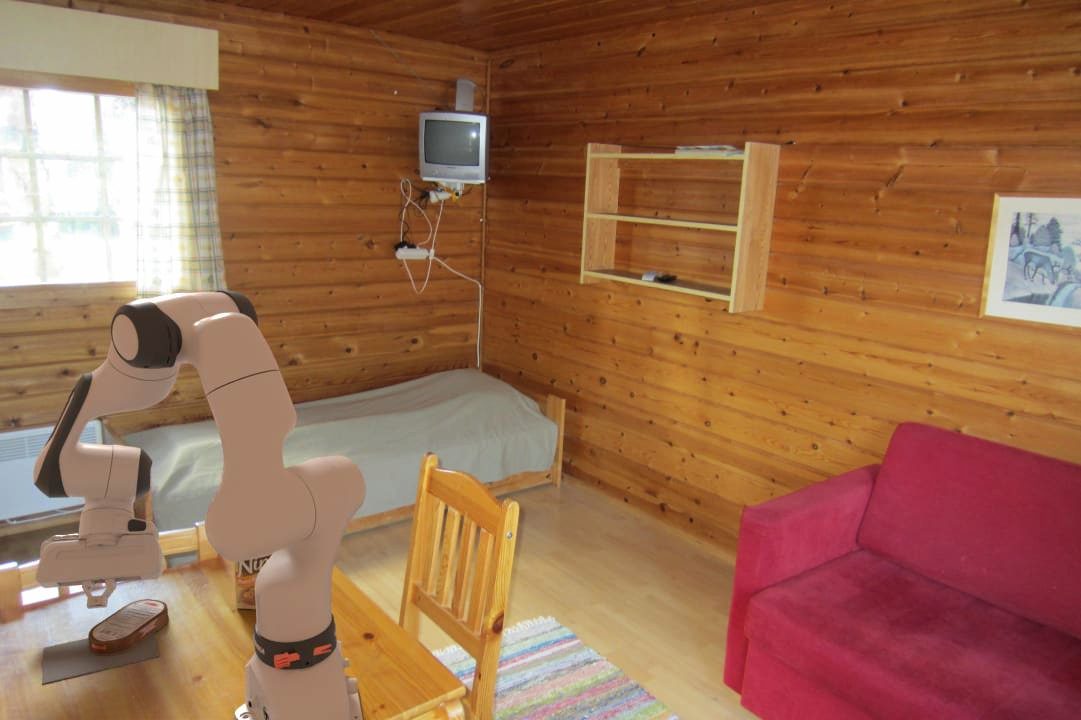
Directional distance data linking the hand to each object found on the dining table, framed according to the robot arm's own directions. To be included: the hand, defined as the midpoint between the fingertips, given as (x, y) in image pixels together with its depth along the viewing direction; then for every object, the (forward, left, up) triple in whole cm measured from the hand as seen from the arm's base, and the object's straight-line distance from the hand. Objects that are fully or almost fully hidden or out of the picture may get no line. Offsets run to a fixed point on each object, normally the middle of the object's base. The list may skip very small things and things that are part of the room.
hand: (96, 607), depth 143 cm
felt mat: (-6, 0, -5) cm, 8 cm away
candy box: (-2, -28, -6) cm, 28 cm away
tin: (+1, -2, -4) cm, 4 cm away
